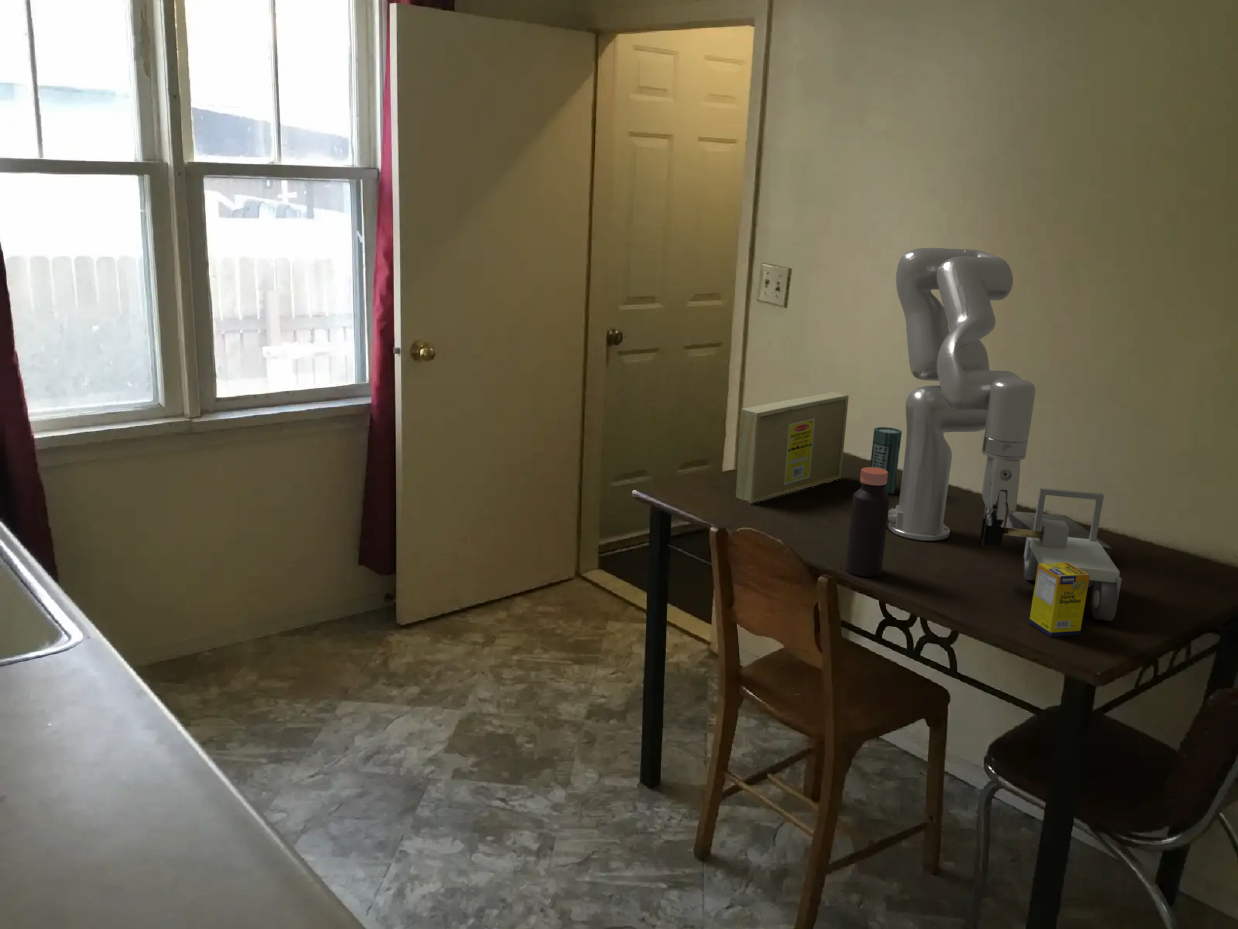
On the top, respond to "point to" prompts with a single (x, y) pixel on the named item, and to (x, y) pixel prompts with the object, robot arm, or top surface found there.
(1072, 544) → the trolley
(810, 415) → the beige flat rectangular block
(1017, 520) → the stone block
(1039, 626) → the supplement box
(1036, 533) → the hammer
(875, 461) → the can
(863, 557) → the bottle
